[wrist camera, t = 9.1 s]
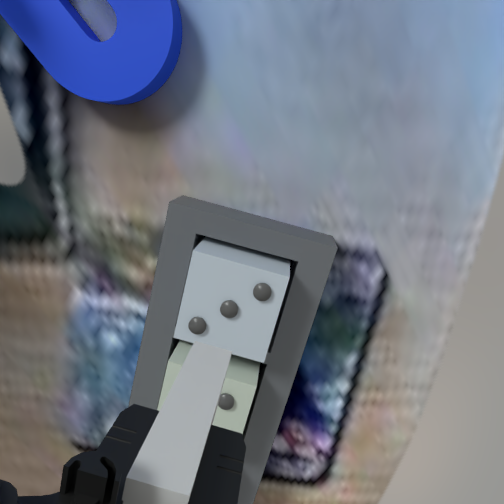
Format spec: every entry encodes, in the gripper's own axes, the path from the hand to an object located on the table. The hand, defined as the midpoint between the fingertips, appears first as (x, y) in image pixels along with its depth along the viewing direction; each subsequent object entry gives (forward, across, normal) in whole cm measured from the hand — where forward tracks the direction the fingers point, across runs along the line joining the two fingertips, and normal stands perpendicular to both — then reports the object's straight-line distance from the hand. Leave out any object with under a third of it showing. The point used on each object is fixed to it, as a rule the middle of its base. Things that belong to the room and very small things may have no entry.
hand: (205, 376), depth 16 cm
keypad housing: (+12, 0, -7) cm, 14 cm away
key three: (+10, 0, 0) cm, 10 cm away
